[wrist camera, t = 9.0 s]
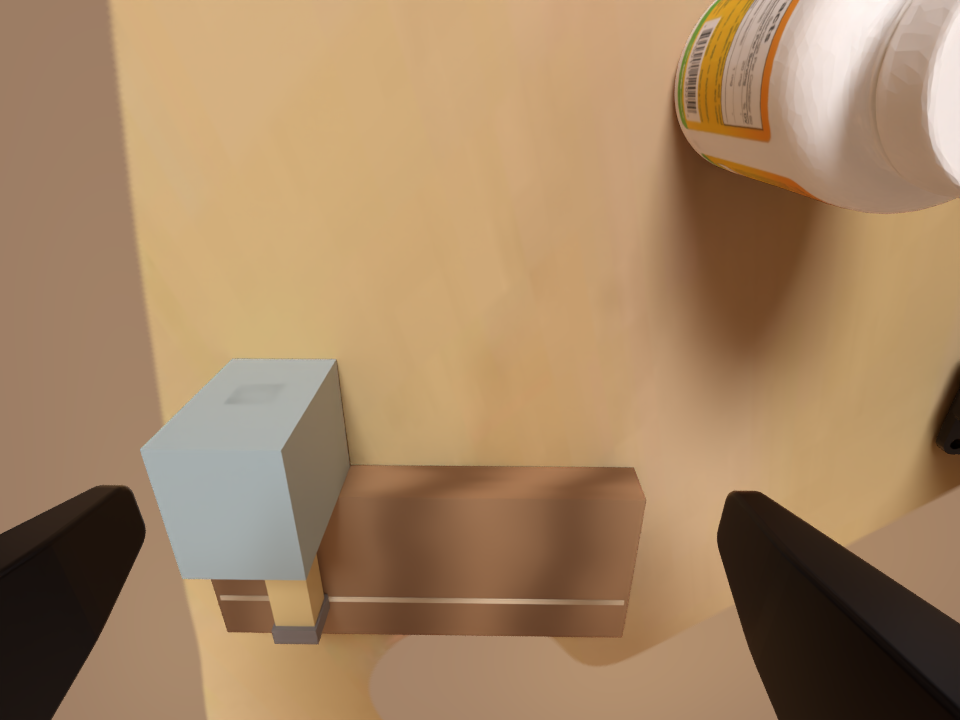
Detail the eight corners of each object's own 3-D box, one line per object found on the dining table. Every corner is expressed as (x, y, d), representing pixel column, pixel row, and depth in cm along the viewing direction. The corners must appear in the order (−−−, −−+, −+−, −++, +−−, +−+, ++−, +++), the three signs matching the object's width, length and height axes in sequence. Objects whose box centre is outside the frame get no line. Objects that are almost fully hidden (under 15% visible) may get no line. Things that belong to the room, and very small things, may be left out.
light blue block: (336, 359, 20) (281, 450, 15) (363, 574, 25) (329, 702, 20) (232, 358, 21) (139, 449, 15) (279, 573, 25) (222, 700, 20)
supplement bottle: (885, 91, 16) (1348, 90, 7) (723, 206, 18) (947, 317, 9) (809, -84, 14) (1303, -355, 6) (636, 62, 16) (813, 25, 7)
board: (633, 467, 22) (646, 501, 21) (613, 600, 26) (622, 638, 24) (208, 464, 23) (183, 497, 21) (245, 595, 26) (227, 633, 25)
